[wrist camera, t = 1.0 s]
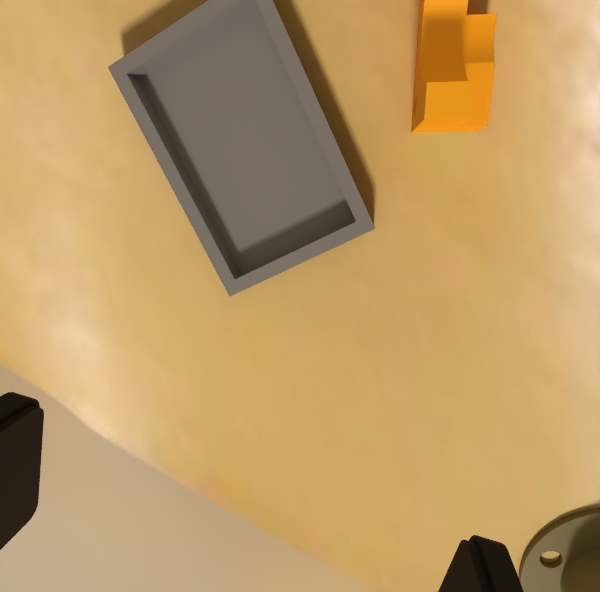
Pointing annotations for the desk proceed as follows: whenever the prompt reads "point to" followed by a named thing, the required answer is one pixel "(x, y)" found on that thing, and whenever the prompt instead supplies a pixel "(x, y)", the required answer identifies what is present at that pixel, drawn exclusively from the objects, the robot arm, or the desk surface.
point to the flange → (565, 556)
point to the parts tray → (242, 140)
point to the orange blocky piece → (453, 68)
